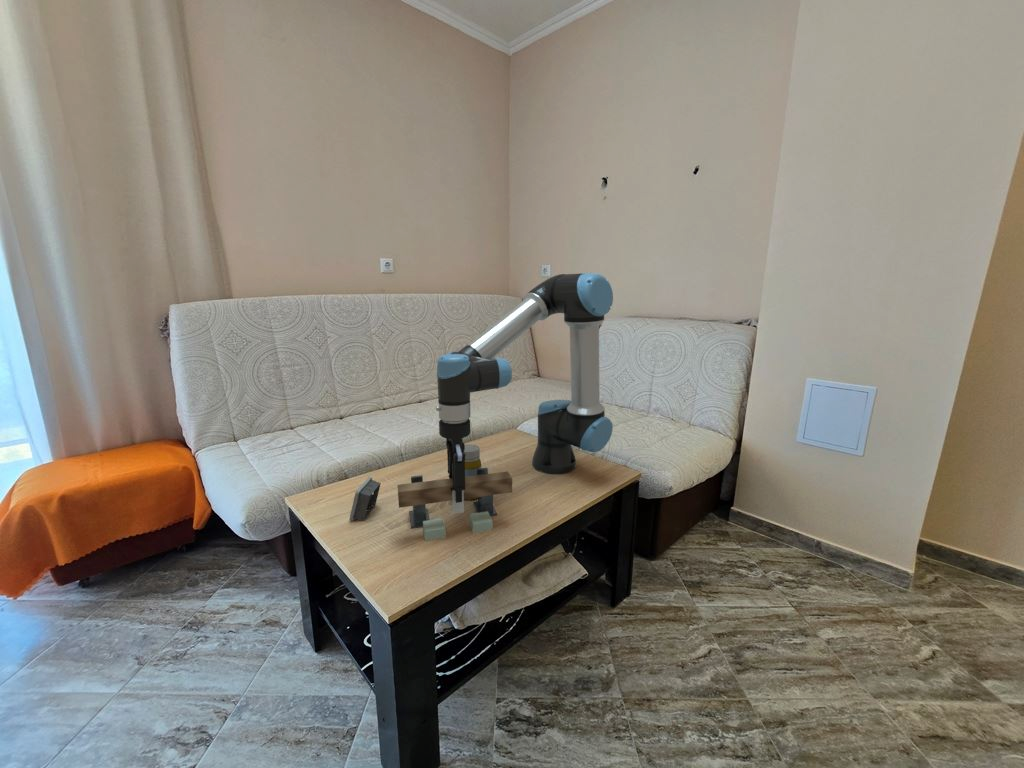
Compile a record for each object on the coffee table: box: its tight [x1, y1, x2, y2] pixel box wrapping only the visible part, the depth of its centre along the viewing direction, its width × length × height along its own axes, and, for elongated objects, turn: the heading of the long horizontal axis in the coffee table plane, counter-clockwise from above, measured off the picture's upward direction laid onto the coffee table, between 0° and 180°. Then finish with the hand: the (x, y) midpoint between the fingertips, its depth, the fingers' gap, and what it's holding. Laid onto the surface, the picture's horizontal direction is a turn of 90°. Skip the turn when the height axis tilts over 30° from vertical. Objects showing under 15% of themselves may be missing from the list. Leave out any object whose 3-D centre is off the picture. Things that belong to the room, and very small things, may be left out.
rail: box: [397, 471, 513, 509], centre depth 104 cm, size 28×4×4 cm, turn 107°
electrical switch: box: [349, 476, 381, 522], centre depth 114 cm, size 9×5×9 cm, turn 176°
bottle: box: [464, 444, 482, 501], centre depth 123 cm, size 7×7×15 cm
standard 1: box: [408, 474, 431, 530], centre depth 110 cm, size 5×8×11 cm, turn 17°
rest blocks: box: [422, 511, 494, 542], centre depth 106 cm, size 17×5×2 cm, turn 107°
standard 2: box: [473, 467, 498, 517], centre depth 115 cm, size 5×8×11 cm, turn 17°
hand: (456, 507), depth 105 cm, fingers closed on rail, 4 cm apart
